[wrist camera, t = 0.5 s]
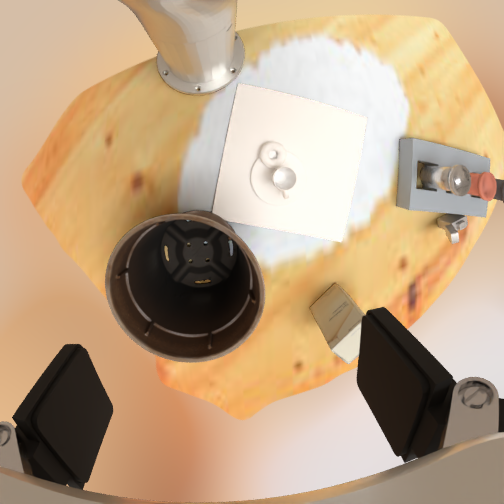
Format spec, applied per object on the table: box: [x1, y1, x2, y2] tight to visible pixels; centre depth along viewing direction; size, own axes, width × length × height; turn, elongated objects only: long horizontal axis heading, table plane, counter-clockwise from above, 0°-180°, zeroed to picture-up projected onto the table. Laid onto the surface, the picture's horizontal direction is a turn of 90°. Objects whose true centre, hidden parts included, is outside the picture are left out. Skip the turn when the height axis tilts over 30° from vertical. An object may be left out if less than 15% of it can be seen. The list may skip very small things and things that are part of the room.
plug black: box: [493, 179, 504, 202], centre depth 36 cm, size 4×4×8 cm
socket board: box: [396, 138, 490, 217], centre depth 41 cm, size 11×20×4 cm, turn 89°
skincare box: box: [310, 283, 365, 364], centre depth 42 cm, size 6×4×12 cm
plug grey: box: [420, 165, 471, 196], centre depth 35 cm, size 4×4×8 cm
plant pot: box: [105, 211, 265, 362], centre depth 36 cm, size 16×16×16 cm
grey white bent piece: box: [437, 213, 468, 244], centre depth 42 cm, size 7×2×8 cm, turn 111°
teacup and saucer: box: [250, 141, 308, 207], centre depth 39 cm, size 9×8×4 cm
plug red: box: [467, 172, 497, 201], centre depth 36 cm, size 4×4×8 cm
